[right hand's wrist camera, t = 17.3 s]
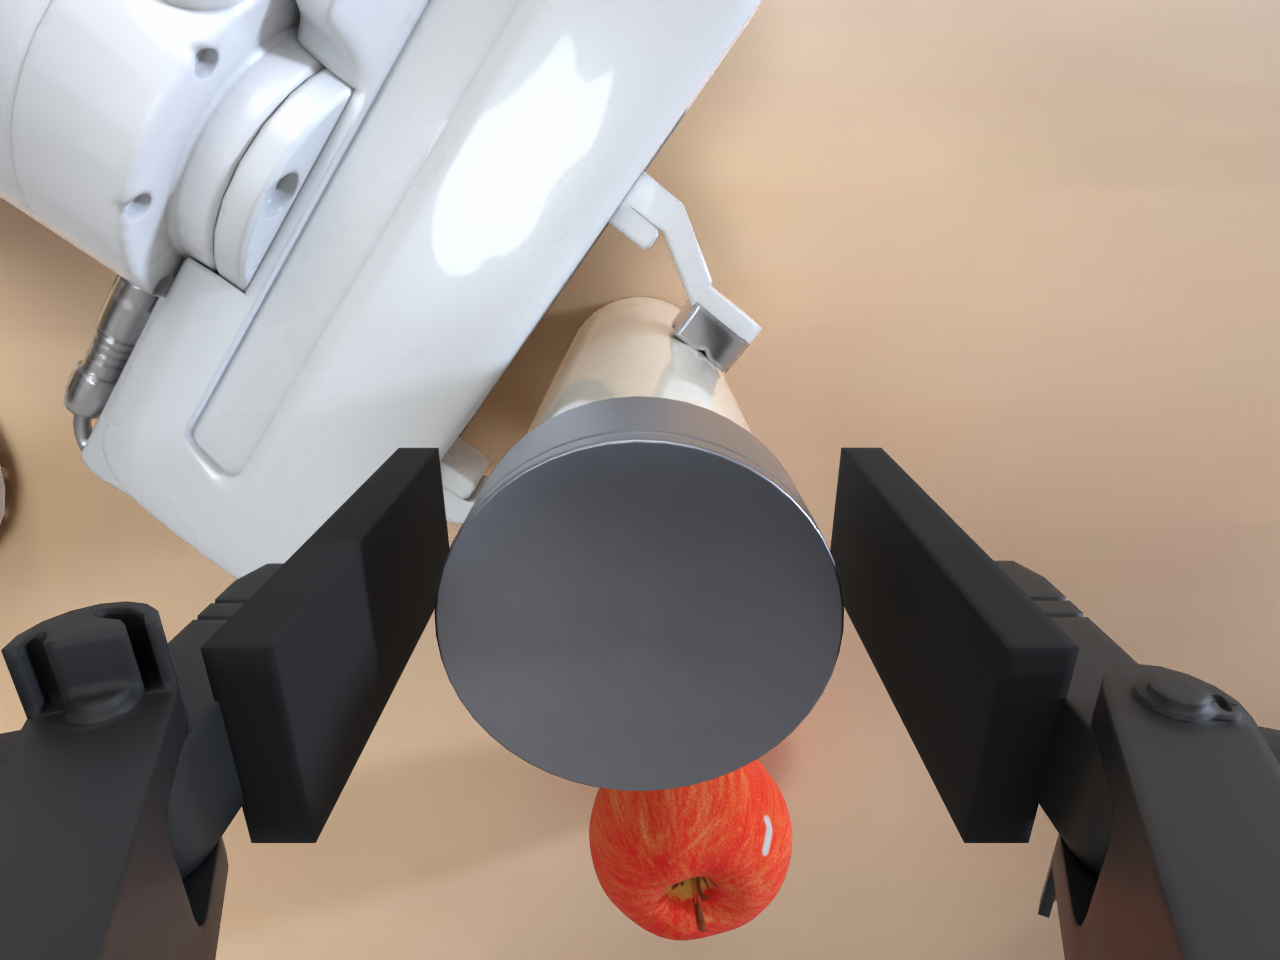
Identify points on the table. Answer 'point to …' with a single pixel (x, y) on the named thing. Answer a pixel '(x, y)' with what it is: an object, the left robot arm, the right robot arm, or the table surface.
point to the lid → (639, 598)
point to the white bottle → (635, 363)
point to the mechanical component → (2, 496)
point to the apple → (693, 852)
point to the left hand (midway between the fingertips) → (665, 441)
